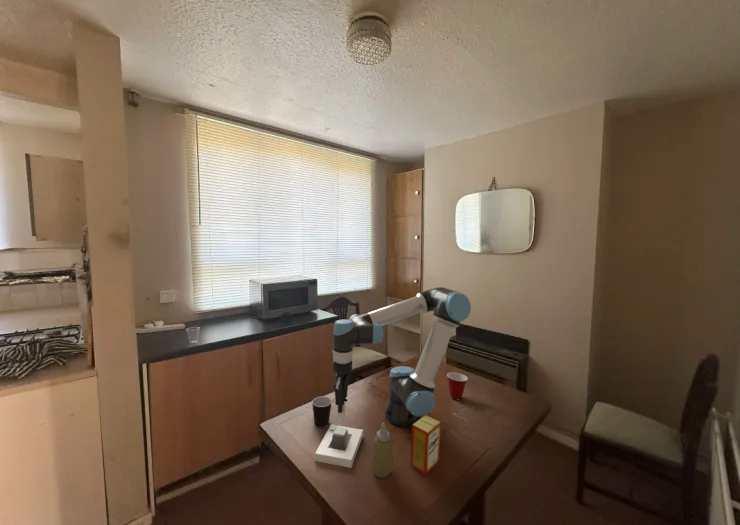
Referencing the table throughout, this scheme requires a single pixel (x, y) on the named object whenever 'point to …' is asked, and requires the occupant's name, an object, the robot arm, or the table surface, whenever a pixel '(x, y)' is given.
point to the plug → (340, 438)
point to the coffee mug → (321, 411)
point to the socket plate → (339, 456)
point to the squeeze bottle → (382, 453)
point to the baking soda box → (425, 444)
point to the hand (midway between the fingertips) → (340, 418)
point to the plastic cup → (456, 384)
